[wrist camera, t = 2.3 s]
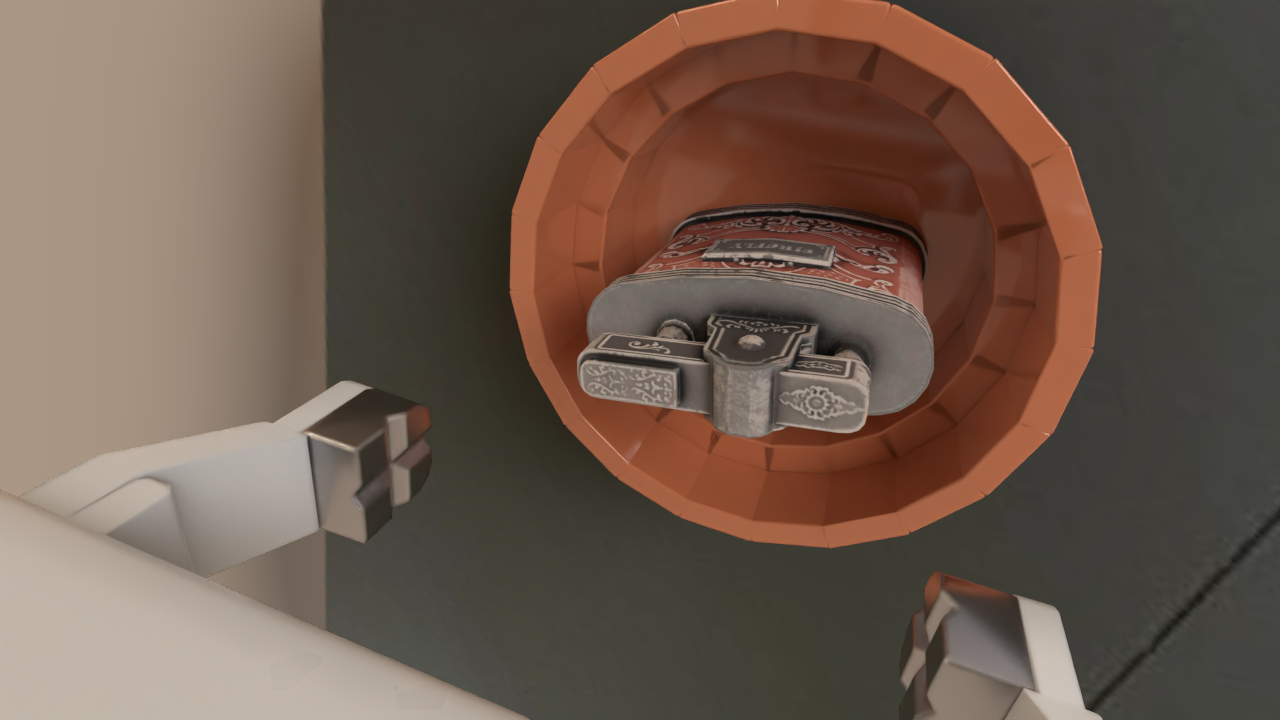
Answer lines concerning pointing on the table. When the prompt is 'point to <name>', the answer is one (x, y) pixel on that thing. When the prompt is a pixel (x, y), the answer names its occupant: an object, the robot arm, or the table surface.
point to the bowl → (832, 176)
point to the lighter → (769, 320)
